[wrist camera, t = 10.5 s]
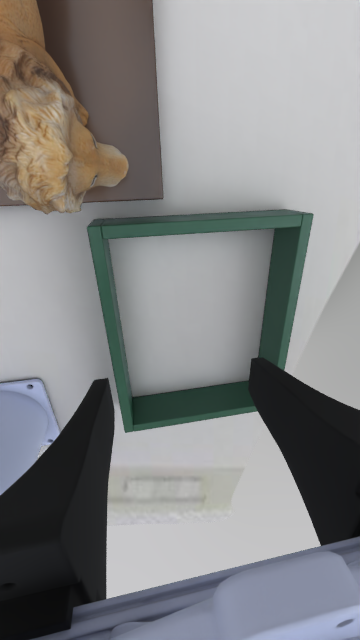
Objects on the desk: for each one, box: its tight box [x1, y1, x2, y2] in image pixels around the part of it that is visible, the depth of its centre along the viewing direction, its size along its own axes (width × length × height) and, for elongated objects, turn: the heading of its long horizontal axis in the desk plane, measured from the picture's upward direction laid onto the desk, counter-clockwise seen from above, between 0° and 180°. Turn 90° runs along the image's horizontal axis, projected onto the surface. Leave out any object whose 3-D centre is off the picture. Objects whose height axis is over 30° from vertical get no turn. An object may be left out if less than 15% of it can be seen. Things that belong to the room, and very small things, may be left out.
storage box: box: [87, 209, 313, 433], centre depth 22 cm, size 15×18×4 cm
